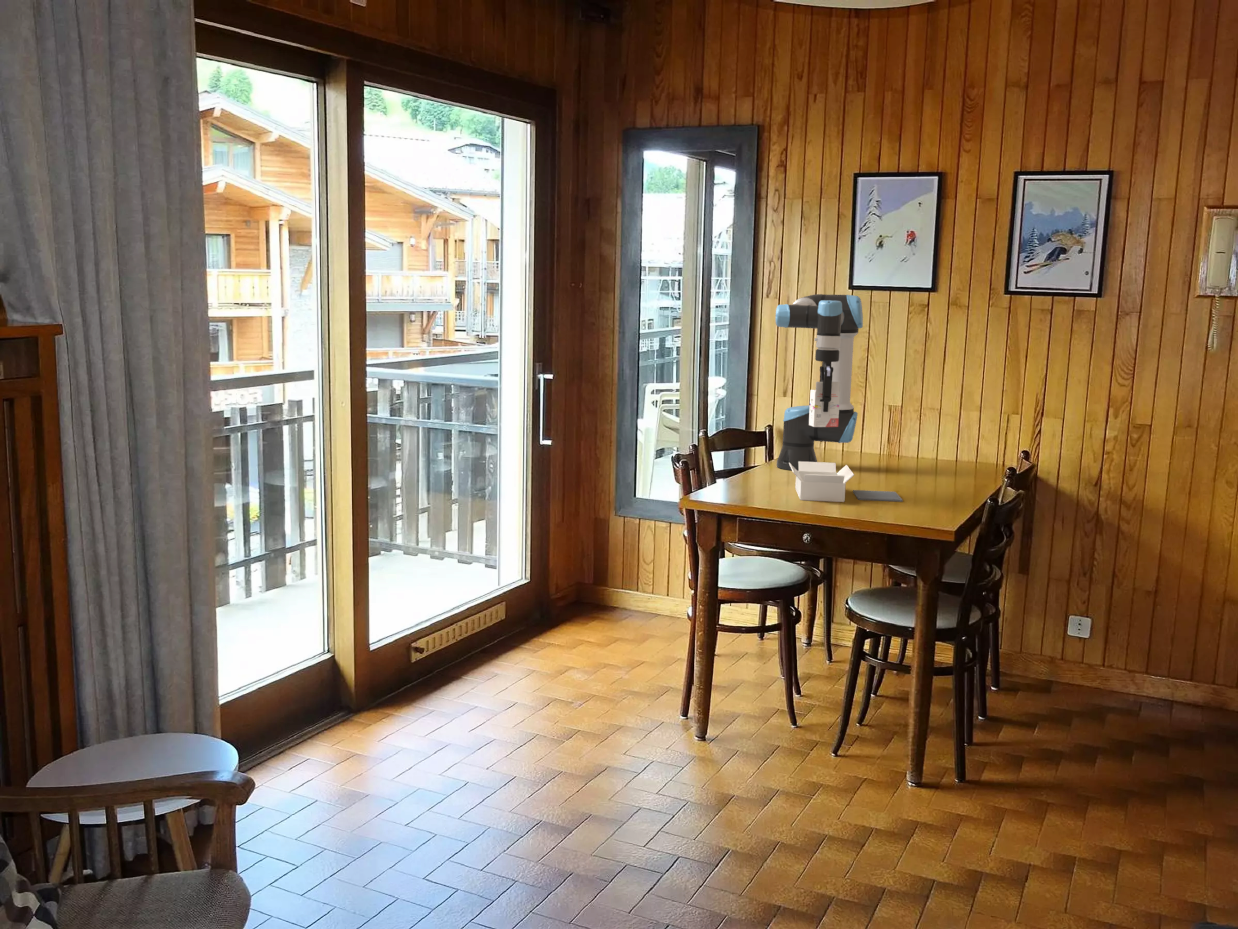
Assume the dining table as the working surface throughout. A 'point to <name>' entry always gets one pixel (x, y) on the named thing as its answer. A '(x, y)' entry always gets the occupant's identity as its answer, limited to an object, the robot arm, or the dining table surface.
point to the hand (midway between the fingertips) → (823, 420)
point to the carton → (821, 481)
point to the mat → (877, 495)
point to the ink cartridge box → (816, 406)
